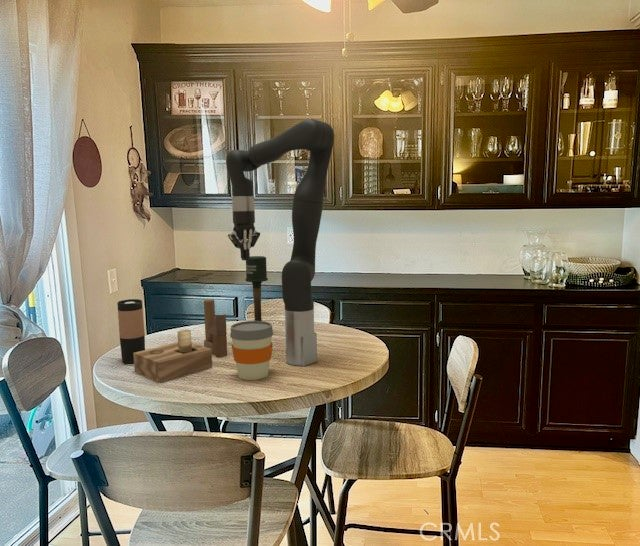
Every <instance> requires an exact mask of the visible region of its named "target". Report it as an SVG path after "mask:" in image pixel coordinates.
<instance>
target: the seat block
mask: <svg viewBox="0 0 640 546" xmlns="http://www.w3.org/2000/svg"><path fill="white" fill-rule="evenodd" d="M191 344H192V352H188V353H184V354H182V353H179V352H178V341H176V342H173V343H169V344H164V345H161V346H156V347H153V348H147V349H145V350H143V351H139V352H135V353H133V356H134V365H133V367H134V370H133V371H134V373H136V372H137V373H136V374H138V373H139V375H140V376H143V375H144V376H143V377H145V376H146V377H145V378H148V379H150V380H152V379H153V380H152V381H154V380H155V382H157V381H158V382H157V383H159V382H160V383H159V384H162V383H164V382H165V381H166V382H168V381H169V382H170V381H171V380H175V379H178V378H182V377H185V375H186V376H188V375H193V374H194V373H197V372H201V371H205V370H209V369H211V368H213V357H212V356H213V354H212V350H211V349H210V348H207V347H204V345H200V344H197V343H194V342H191ZM161 382H162V383H161Z"/></svg>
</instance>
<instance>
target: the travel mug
mask: <svg viewBox="0 0 640 546" xmlns="http://www.w3.org/2000/svg"><path fill="white" fill-rule="evenodd" d="M116 303H117V320H118V333H119V335H118V336H119V344H120V353H121V361H122V364H123V363H124V364H123V365H126V364H134V356H133V353H135V352H139V351H143V350H146V340H145V339H146V336H145V323H144V311H143V310H144V309H143V301H142V299H138V298H133V299H131V298H130V299H123V300H119V301H118V302H116Z"/></svg>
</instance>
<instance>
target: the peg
mask: <svg viewBox="0 0 640 546" xmlns="http://www.w3.org/2000/svg"><path fill="white" fill-rule="evenodd" d="M177 342H178V352H179V353H182V354H184V353H188V352H192V344H191V343H192V331H191V330H190V329H180V330H177Z"/></svg>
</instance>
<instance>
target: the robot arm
mask: <svg viewBox="0 0 640 546" xmlns="http://www.w3.org/2000/svg"><path fill="white" fill-rule="evenodd" d="M334 144H335V132H334V129H333V127H332V126H331V125H330V124H329V123H327V122H324V121H321V120H318V119H314V118H306V119H304V120H302V121H299V122H297V124H295V125H293V126H292V127H290V128H288V129H287V130H285V131H283V132H281V133H280V134H278V135H275V136H274V137H271V138H269V139H267V140H264V141H261V142H258V143H256V144H252V146H251V147H250V148H249V150H248V149H247V150H246V149H245V150H243V149H232V150H230V151H229V152H228V154H227V155H226V160H225V163H226V169H227V172H228V176H229V178H230V182H231V186H232V188H231V189H232V191H231V192H232V200H231V206H232V208H231V210H232V223H233V228H232V229H233V230H232V232H231V233H228V234H227V237H228V239H229V240H230V241H231V243H232V244H233V245H234V247H235V249H239V250H240V259H241V260H242V261H246V260H249V258H250V257H251V255H250V250H251V248H254V247H255V245H256V243H257V242H258V240H259V238H260V236H261V232H258V231H257V230H256V227H255V223H256V216H255V215H256V214H255V210H256V209H255V199H254V185H253V184H254V183H253V181H252V179H249V178H248V177H246V174H245V172H253V171H256V170H257V169H259V168H260V167H262V166H265V165H268V164H271V163H273V162H276V161H278V160H279V159H282V157H283V156H284V155H285V154H286V153H288V152H292V151H298V150H305V151H308V152H309V160H308V166H307V168H306V170H305V173H304V175H303V177H302V178H301V180H300V182H299V183H298V185H297V187H296V189H295V191H294V195H293V201H292V209H291V223H292V224H291V226H292V233H293V245H292V251H291V256H290V260H289V261H287V262H286V263H285V264H284V265H283V268H282V270H281V271H282V272H281V293H282V300H283V303H284V324H285V325H284V330H285V333H284V334H285V336H284V337H285V362H286V363H287V364H289V365H293V366H303V367H306V366H308V365H312V364H314V363H317V362H318V344H317V343H318V342H317V341H318V339H317V332H315V314H314V313H315V311H314V310H315V305H314V299H313V296H312V281H313V279H314V278H315V275H316V254H317V253H316V251H317V250H316V249H317V240H318V236H319V232H320V227H321V226H320V225H321V220H322V214H323V207H324V195H325V190H326V189H325V188H326V182H327V176H328V171H329V164H330V160H331V157H332V151H333V147H334Z"/></svg>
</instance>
